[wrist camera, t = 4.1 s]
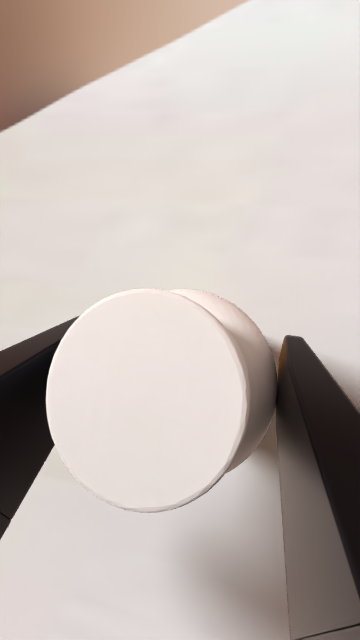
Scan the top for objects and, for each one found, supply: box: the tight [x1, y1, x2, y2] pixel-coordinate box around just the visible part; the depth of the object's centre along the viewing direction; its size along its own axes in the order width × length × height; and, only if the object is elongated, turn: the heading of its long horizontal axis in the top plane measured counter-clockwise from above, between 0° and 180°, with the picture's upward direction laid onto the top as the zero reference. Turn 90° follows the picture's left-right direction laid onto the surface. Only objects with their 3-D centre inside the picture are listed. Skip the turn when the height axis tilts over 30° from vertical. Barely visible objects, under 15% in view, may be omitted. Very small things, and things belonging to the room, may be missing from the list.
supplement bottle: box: [46, 288, 277, 513], centre depth 9 cm, size 5×5×10 cm
